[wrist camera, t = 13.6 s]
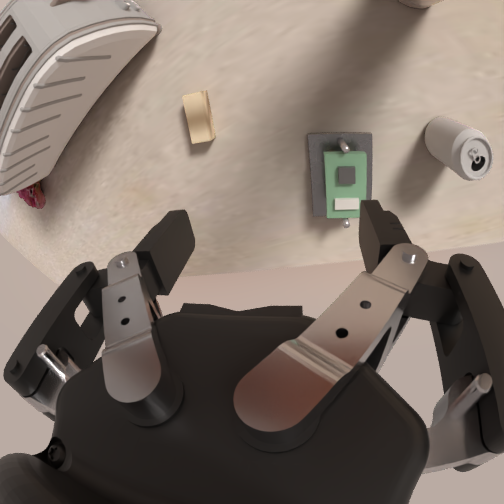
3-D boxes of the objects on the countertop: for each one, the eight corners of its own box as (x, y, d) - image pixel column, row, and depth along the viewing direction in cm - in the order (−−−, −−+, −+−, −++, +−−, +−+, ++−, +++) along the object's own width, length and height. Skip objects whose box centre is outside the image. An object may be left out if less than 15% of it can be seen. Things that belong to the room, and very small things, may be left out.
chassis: (307, 133, 39) (308, 142, 34) (370, 132, 37) (381, 141, 31) (313, 213, 46) (314, 233, 41) (369, 212, 44) (377, 231, 39)
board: (323, 151, 36) (324, 155, 34) (364, 151, 35) (367, 155, 33) (326, 213, 42) (327, 220, 40) (363, 212, 40) (366, 219, 39)
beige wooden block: (189, 94, 38) (182, 95, 35) (206, 90, 37) (200, 91, 35) (198, 139, 42) (192, 143, 40) (215, 136, 41) (210, 140, 39)
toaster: (186, 19, 30) (97, -10, 12) (56, 174, 50) (-13, 223, 32) (125, -36, 22) (40, -60, 4) (18, 117, 42) (-50, 151, 24)
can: (434, 166, 37) (468, 195, 27) (414, 129, 34) (448, 148, 25) (464, 145, 33) (503, 169, 23) (445, 108, 31) (486, 121, 21)
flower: (49, 195, 58) (18, 205, 51) (46, 161, 53) (13, 169, 46) (54, 210, 52) (18, 221, 45) (49, 171, 47) (12, 181, 40)
